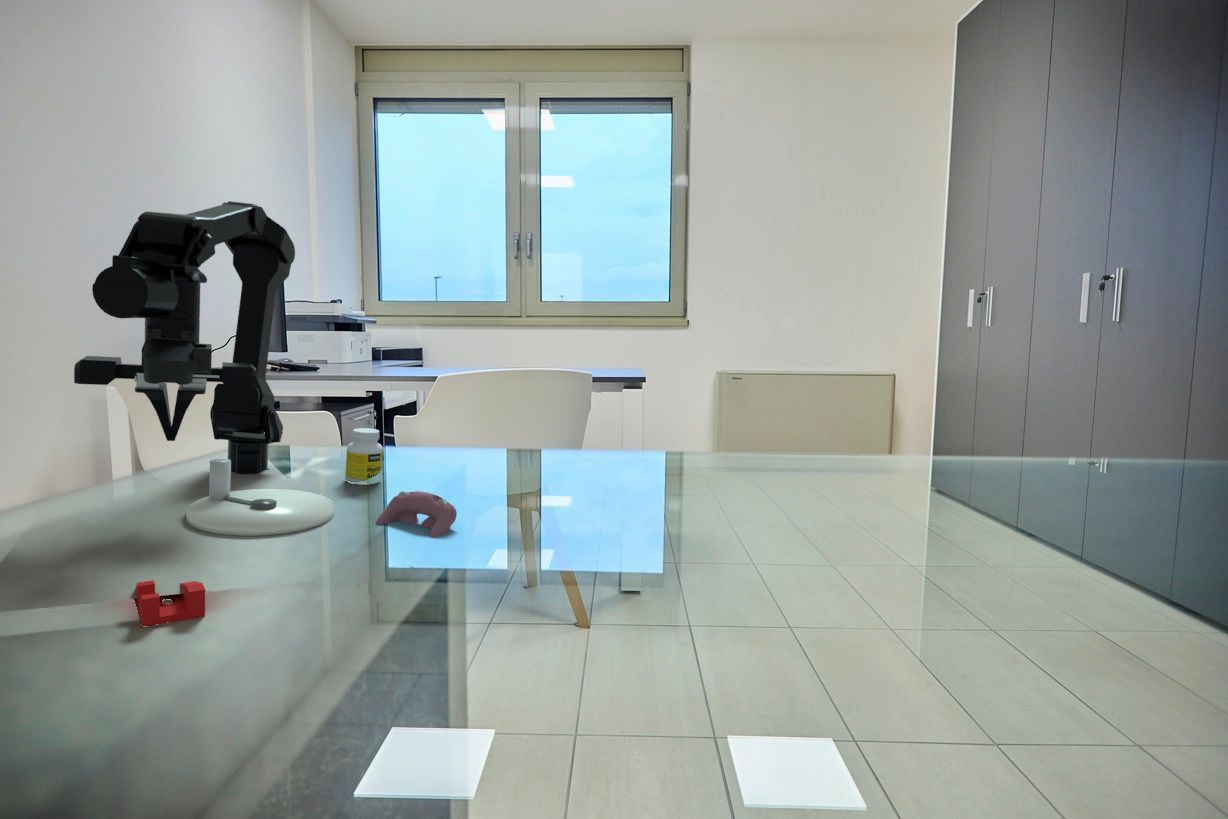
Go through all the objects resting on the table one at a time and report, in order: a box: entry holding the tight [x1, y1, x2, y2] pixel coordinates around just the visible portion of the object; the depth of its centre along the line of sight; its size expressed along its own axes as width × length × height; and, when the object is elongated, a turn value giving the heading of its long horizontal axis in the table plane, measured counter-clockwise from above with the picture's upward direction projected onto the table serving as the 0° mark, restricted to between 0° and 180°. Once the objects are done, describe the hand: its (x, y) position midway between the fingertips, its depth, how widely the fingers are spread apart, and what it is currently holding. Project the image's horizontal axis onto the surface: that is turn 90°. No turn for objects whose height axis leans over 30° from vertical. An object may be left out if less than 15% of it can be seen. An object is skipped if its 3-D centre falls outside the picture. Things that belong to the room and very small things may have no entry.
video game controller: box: [375, 490, 458, 538], centre depth 90 cm, size 10×5×7 cm, turn 71°
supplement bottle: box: [344, 427, 384, 483], centre depth 108 cm, size 5×5×10 cm
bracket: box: [133, 579, 206, 628], centre depth 63 cm, size 6×5×3 cm
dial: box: [185, 458, 335, 537], centre depth 87 cm, size 17×17×6 cm
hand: (171, 440), depth 86 cm, fingers closed
